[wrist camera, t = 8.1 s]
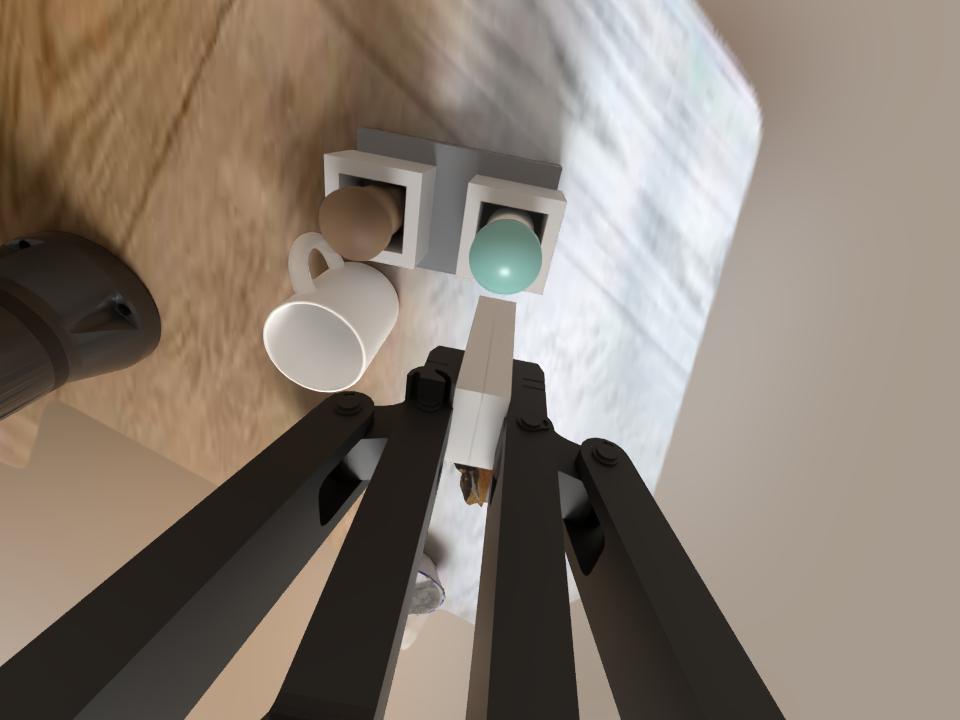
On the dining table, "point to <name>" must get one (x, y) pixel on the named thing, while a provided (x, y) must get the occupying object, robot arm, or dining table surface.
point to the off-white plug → (506, 252)
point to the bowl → (426, 589)
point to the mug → (329, 319)
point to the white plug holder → (449, 197)
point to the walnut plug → (362, 218)
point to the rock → (474, 483)
